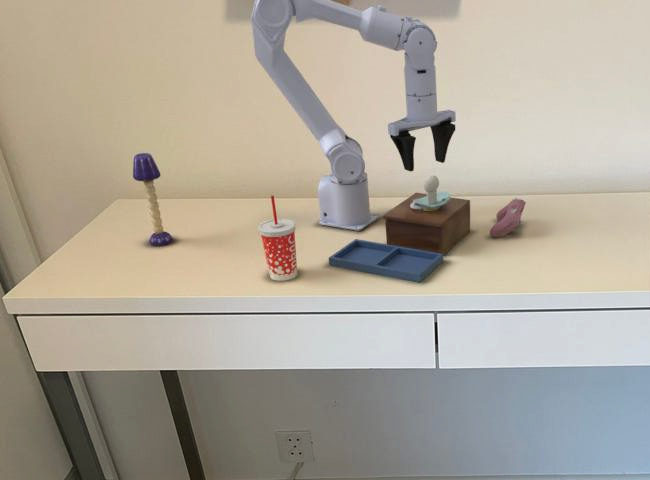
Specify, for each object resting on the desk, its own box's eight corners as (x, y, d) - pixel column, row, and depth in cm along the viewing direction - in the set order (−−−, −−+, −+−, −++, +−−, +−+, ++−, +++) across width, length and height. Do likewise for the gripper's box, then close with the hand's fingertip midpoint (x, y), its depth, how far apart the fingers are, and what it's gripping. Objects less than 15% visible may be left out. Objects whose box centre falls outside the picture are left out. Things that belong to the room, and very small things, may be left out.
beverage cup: (284, 285, 125) (273, 204, 118) (257, 277, 128) (244, 198, 121) (309, 272, 130) (299, 193, 122) (282, 264, 132) (271, 187, 125)
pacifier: (403, 208, 138) (423, 216, 134) (400, 175, 135) (421, 182, 131) (433, 199, 142) (454, 206, 138) (432, 166, 139) (453, 172, 134)
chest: (442, 256, 134) (441, 225, 131) (386, 246, 139) (384, 217, 136) (470, 231, 144) (470, 203, 141) (417, 223, 148) (416, 195, 145)
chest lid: (440, 227, 131) (439, 224, 131) (382, 218, 135) (382, 215, 135) (470, 203, 141) (470, 200, 141) (416, 195, 145) (415, 192, 145)
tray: (419, 282, 125) (419, 274, 124) (329, 265, 132) (328, 257, 131) (443, 261, 132) (443, 253, 132) (356, 246, 139) (355, 238, 138)
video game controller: (508, 247, 141) (526, 216, 137) (487, 235, 141) (504, 204, 137) (515, 227, 149) (532, 198, 146) (494, 216, 149) (511, 187, 145)
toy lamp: (180, 240, 143) (161, 152, 134) (162, 249, 139) (142, 159, 131) (161, 236, 145) (141, 149, 136) (143, 245, 141) (121, 156, 132)
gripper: (438, 83, 145) (441, 153, 152) (376, 96, 138) (382, 169, 145) (461, 89, 140) (463, 161, 148) (398, 102, 133) (403, 177, 140)
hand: (424, 165), depth 146 cm, fingers open, 7 cm apart
